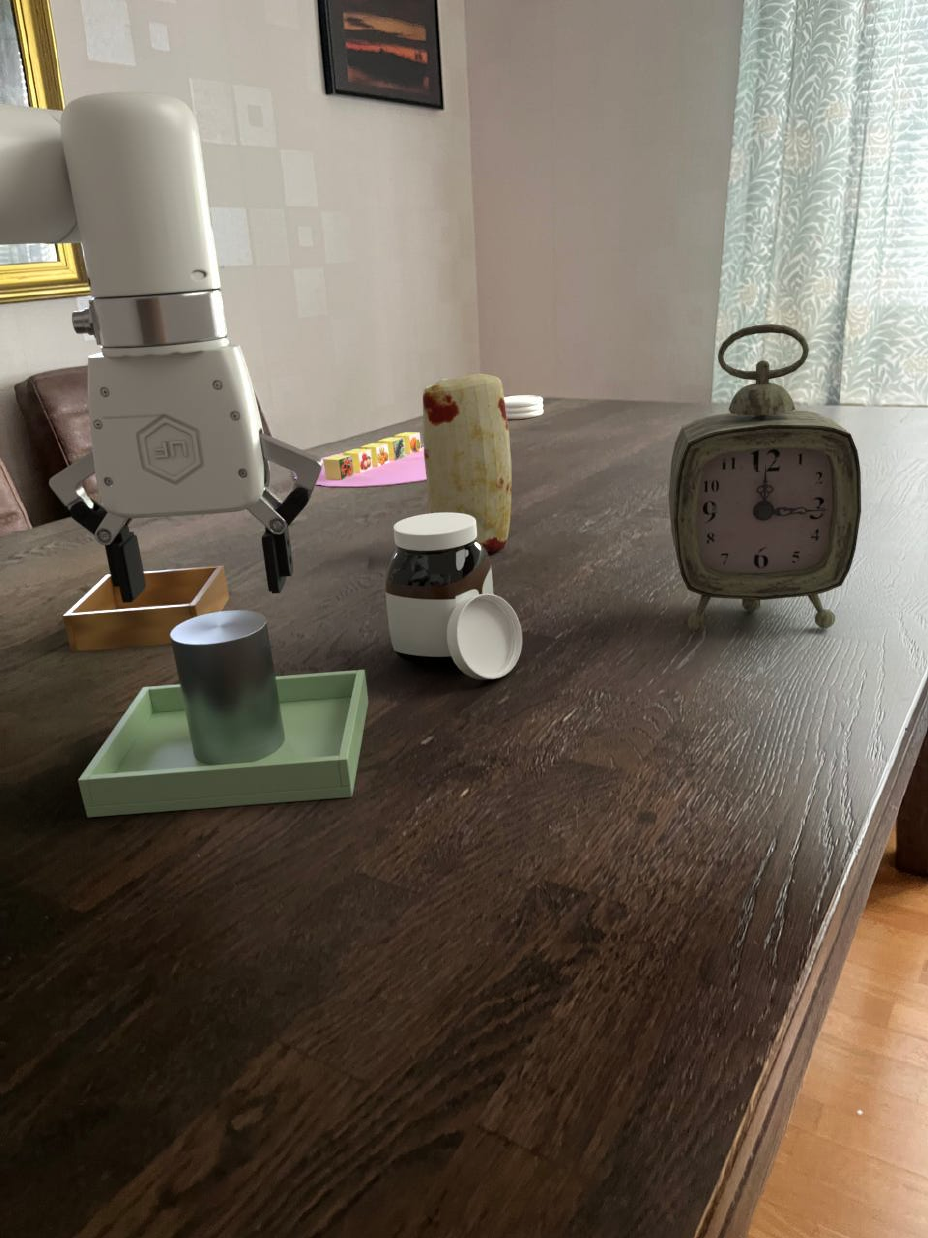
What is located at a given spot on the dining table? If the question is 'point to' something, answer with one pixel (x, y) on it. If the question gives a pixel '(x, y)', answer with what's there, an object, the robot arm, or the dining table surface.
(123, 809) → the tray
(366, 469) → the platter
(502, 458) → the food model
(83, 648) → the wooden box
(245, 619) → the can
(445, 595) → the spread jar
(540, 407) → the white short ridged cylinder
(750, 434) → the tabletop clock
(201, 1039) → the dining table surface
